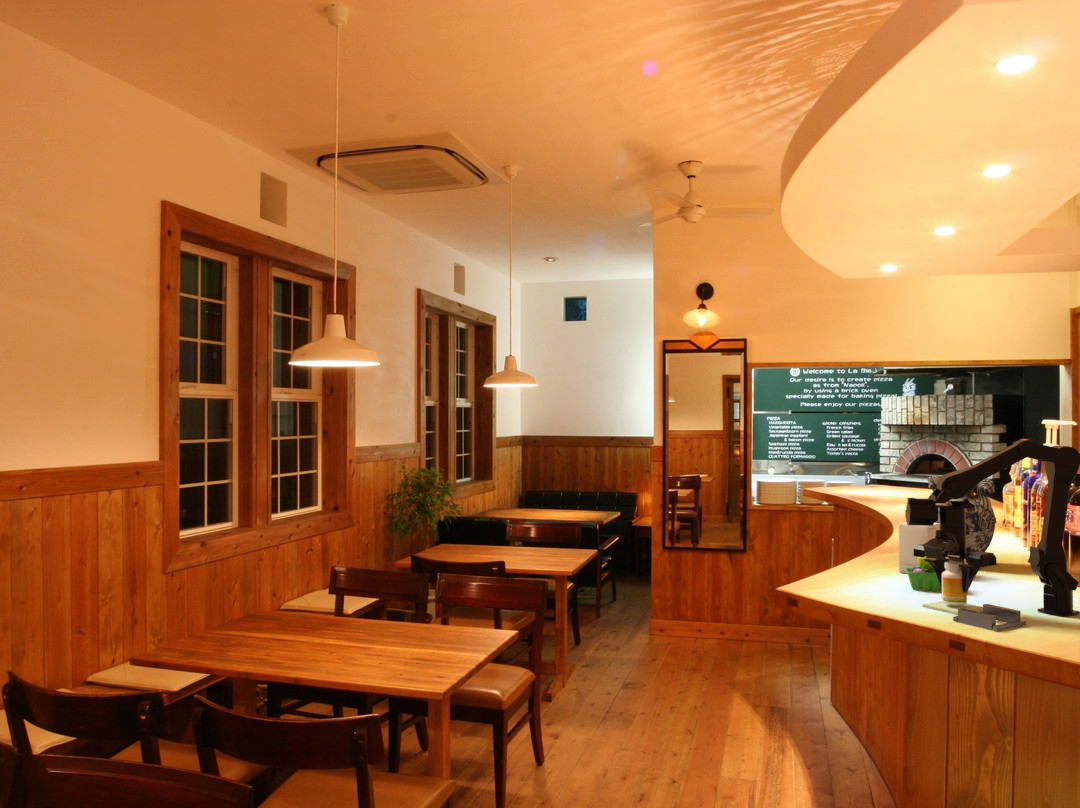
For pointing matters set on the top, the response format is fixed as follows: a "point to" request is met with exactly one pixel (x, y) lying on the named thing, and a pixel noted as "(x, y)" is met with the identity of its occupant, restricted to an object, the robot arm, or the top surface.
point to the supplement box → (913, 542)
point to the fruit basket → (923, 576)
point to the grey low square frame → (991, 618)
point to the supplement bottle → (953, 584)
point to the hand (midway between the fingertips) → (954, 590)
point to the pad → (951, 607)
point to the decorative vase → (975, 516)
